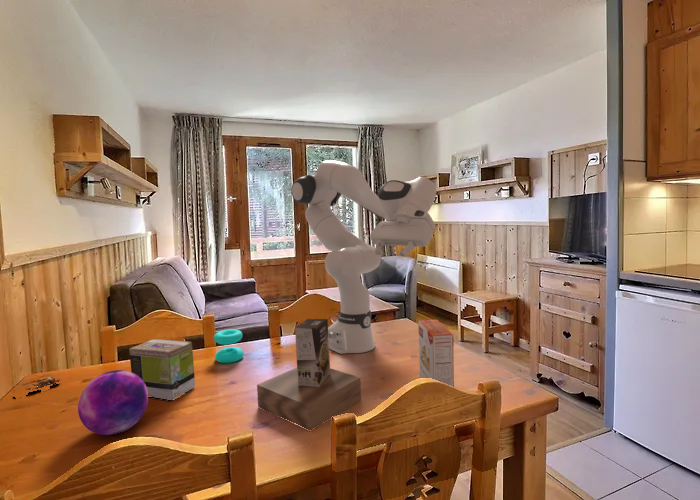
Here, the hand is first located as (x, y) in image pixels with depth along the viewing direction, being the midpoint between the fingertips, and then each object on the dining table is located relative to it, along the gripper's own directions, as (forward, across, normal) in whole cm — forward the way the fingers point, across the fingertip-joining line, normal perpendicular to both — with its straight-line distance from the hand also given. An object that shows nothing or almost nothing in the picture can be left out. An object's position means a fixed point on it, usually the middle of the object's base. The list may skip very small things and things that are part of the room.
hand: (389, 254), depth 119 cm
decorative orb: (+74, -36, -18) cm, 84 cm away
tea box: (+62, -49, -6) cm, 79 cm away
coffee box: (+40, -9, +7) cm, 41 cm away
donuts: (+43, -58, +13) cm, 73 cm away
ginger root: (+81, -82, -24) cm, 117 cm away
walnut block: (+46, -9, +11) cm, 48 cm away
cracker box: (+29, +16, +27) cm, 43 cm away
